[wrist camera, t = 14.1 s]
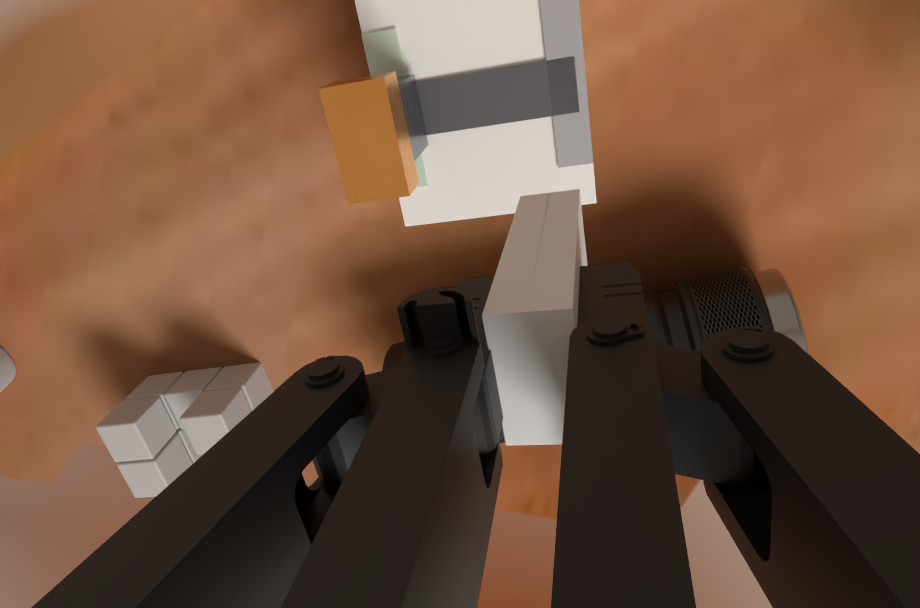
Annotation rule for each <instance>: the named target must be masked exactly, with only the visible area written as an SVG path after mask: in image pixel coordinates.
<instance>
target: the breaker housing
mask: <svg viewBox="0 0 920 608" xmlns="http://www.w3.org/2000/svg"><path fill="white" fill-rule="evenodd" d="M355 5H356V9H357V14H358V18H359V23H360V27H361V32H362V35H361V36H362V41H363V45H364V50H365V54H366V58H367V63H368V67H369V72H370V75H375V74H381V73H387V72H392V71H396V76H397V77H401V76H407V75H413V74H414V75H415V80H416V85H417V90H418V95H419V100H420V105H421V110H422V115H423V120H424V125H425V130H426V135H427V141H428V146H427V147H426V148H425V149H424V151H423V152H422V153H421V154H420V156H419V157H418V158H417V159H416V160H415V166H416V171H417V176H418V181H419V184H418V185H417V187H416V188H415V189H414V191H413V192H412V194H411V195H410V196H406V197H399V200H400V205H401V209H402V214H403V218H404V222H405V227H406V226H414V225H422V224H430V223H439V222H447V221H455V220H463V219H471V218H480V217H488V216H496V215H504V214H512V213H515V212H516V208H517V205H518V202H519V199H520V196H526V195H534V194H542V193H550V192H559V191H567V190H575V189H580V197H581V205H586V204H594V203H597V201H596V190H595V178H594V167H593V155H592V144H591V133H590V121H589V110H588V99H587V87H586V76H585V65H584V53H583V42H582V31H581V19H580V8H579V0H355Z"/></svg>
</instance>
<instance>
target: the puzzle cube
mask: <svg viewBox="0 0 920 608" xmlns="http://www.w3.org/2000/svg"><path fill="white" fill-rule="evenodd" d="M272 393H273V390H272V387H271V385H270V382H269V380H268V377H267V375H266V373H265V370H264V368H263V365H262V363H261V362H258V363H249V364H241V365H233V366H225V367H224V368H223V369H222V368H221V367H217V368H208V369H200V370H192V371H186V372H185V373H183V372H175V373H167V374H159V375H151V376H148V377H147V378H146V379H145V380H144V381H143V382H142V383H141V384H140V385H138V386H137V387H136V388H135V389H134V390H133V391H132V392H131V393H130V394H129V395H128V396H127V397H126V398H125V400H124V401H122V402H121V403H120V404H119V405H118V406H117V407H115V408H114V409H113V410H112V411H111V412H110V413H109V414H108V415H107V416H106V417H105V418H104V419H103V420H102V421H101V422H100V423H99V424H98V425H97V426H96V429H97V431H98V433H99V434H100V436H101V438H102V440H103V442H104V443H105V445H106V447H107V449H108V450H109V452H110V454H111V456H112V457H113V459H114V461H115V462H118V464H117V466H118V468H119V470H120V472H121V473H122V475H123V477H124V479H125V480H126V482H127V484H128V486H129V488H130V489H131V491H132V493H133V495H134V496H135V497H136V498H139V497H153V496H157V495H158V494H159V493H161V492H162V491H163V490H164V489H165V488H166V487H167V486H168V485H170V484H171V483H172V482H173V481H174V480H175V479H176V478H177V477H179V476H180V475H181V474H182V473H183V472H184V471H185V470H186V469H188V468H189V467H190V466H191V465H192V464H193V463H194V462H195V461H197V460H198V459H199V458H200V457H201V456H202V455H203V454H204V453H205V452H207V451H208V450H209V449H210V448H211V447H212V446H213V445H214V444H216V443H217V442H218V441H219V440H220V439H221V438H222V437H223V436H225V435H226V434H227V433H228V432H229V431H230V430H231V429H232V428H234V427H235V426H236V425H237V424H238V423H239V422H240V421H241V420H242V419H244V418H245V417H246V416H247V415H248V414H249V413H250V412H251V411H253V410H254V409H255V408H256V407H257V406H258V405H259V404H260V403H262V402H263V401H264V400H265V399H266V398H267V397H268V396H269V395H271V394H272Z"/></svg>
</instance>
